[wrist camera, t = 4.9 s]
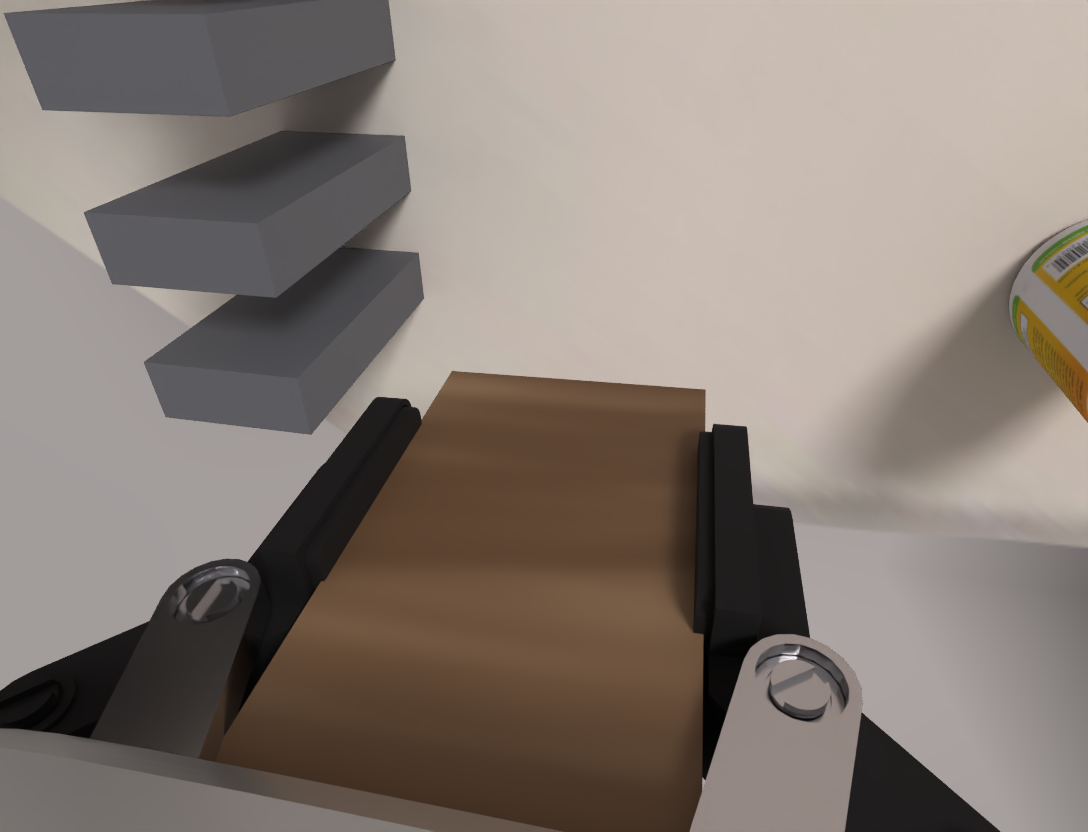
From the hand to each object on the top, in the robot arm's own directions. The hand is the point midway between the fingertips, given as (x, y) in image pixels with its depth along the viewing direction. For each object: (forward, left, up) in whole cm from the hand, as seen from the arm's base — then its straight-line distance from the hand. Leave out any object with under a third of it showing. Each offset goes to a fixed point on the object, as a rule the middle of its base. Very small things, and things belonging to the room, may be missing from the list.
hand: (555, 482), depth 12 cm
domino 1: (-6, -11, -16) cm, 20 cm away
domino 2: (-1, -11, -16) cm, 19 cm away
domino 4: (0, 0, -2) cm, 2 cm away
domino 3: (+3, -11, -16) cm, 19 cm away
